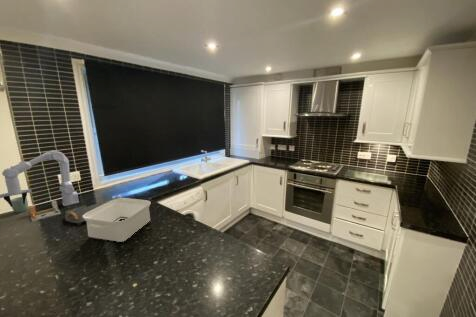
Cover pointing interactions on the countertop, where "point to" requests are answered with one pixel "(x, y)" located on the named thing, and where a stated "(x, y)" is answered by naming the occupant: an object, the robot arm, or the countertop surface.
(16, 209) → the cup
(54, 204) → the rail
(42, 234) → the countertop surface
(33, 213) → the slider leg
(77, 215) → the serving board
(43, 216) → the bolt plate
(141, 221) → the white sink basin
